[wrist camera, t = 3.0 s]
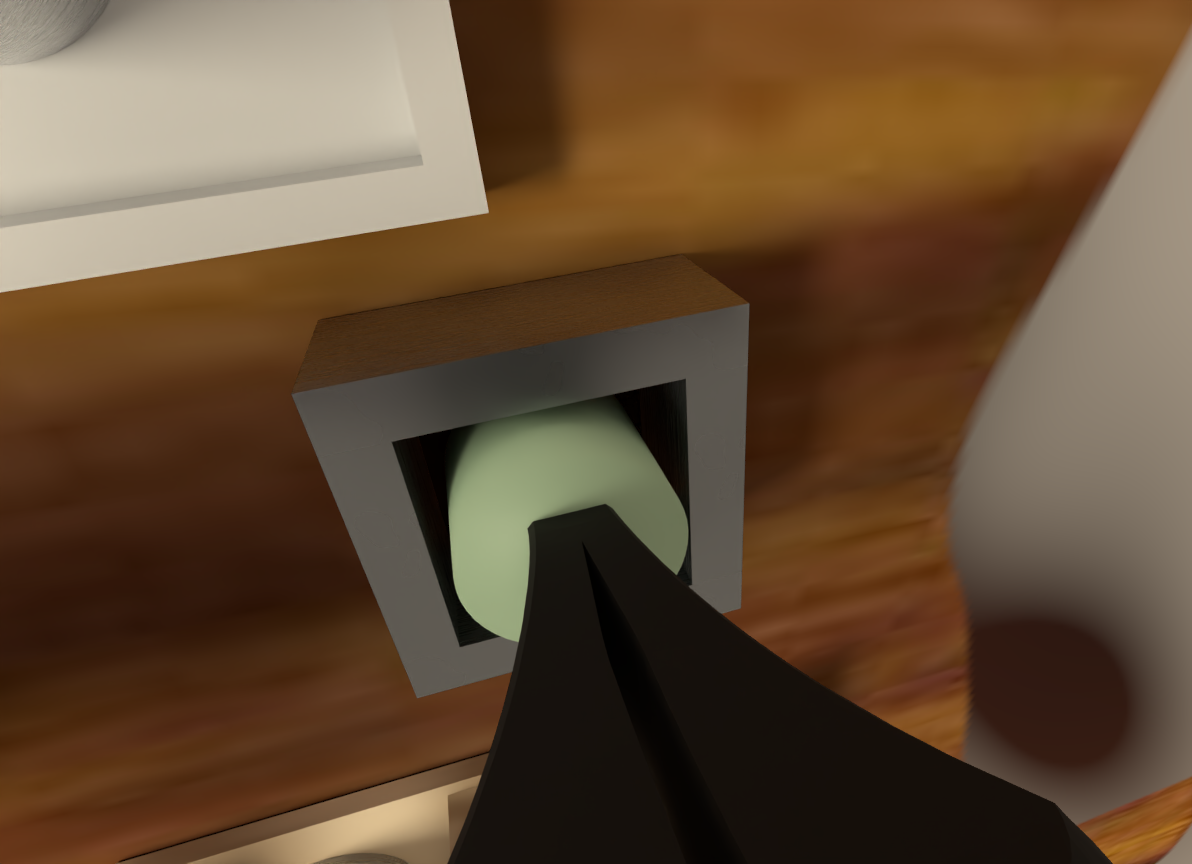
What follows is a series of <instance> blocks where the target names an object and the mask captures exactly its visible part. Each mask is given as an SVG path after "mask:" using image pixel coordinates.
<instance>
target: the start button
mask: <svg viewBox="0 0 1192 864" xmlns="http://www.w3.org/2000/svg"><path fill="white" fill-rule="evenodd" d="M444 459H445V477H446V490H447V503H448V516H449V529H450V542H451V555H452V568H453V580H454V584H455V589H456V592H457V594H458V597H459V599H460V602H461V603H462V605H463V606H464V608H465V609H466V611H467V612H468V613H469V614H470V615H471V616H472V618H473V619H474V620H475V621H477V622H478V623H479V624H480V625H482V626H483V627H484V628H486V629H487V630H489V631H491V632H493V633H494V634H496V635H499V636H501V637H504V638H506V639H509V640H513V641H516V642H519V638H520V633H521V628H522V622H523V615H524V608H525V601H526V593H527V586H528V574H529V556H530V550H529V535H528V530H527V528H528V527H529V526H530V525H531V523H532V522H533V521H537V520H541V519H545V518H549V517H553V516H557V515H561V514H566V513H570V512H574V511H578V510H582V509H586V508H590V507H594V506H598V505H602V504H607V505H608V506H610V507H612V508H613V509H614V511H615V512H616V513H617V514H618V516H619V517H620V518H621V519H622V520H623V521H624V523H625V524H626V525H627V526H628V527H629V528H630V529H631V530H632V531H633V533H634V534H635V535H636V536H637V537H638V538H639V539H640V540H641V541H642V542H643V543H644V544H645V545H646V546H647V547H648V548H649V549H650V550H651V551H652V552H653V553H654V554H655V555H656V556H657V557H658V558H659V559H660V560H661V561H662V562H663V563H664V564H665V565H666V566H667V567H668V568H669V569H670V570H671V571H673V572H674V573H675V574H676V575H677V574H678V572H679V570H680V568H681V566H682V563H683V560H684V557H685V554H686V550H687V545H688V524H687V518H686V515H685V511H684V508H683V506H682V504H681V502H680V500H679V498H678V497H677V495H676V493H675V492H674V490H673V488H672V487H671V485H670V483H669V482H668V480H667V478H666V477H665V475H664V473H663V472H662V470H661V469H660V467H659V465H658V464H657V462H656V460H655V459H654V457H653V455H652V454H651V452H650V450H649V449H648V447H647V445H646V444H645V442H644V440H643V439H642V437H641V435H640V434H639V432H638V430H637V429H636V427H635V425H634V424H633V422H632V421H631V419H630V417H629V416H628V414H627V412H626V411H625V409H624V407H623V406H622V405H621V403H620V402H619V401H618V399H617V398H616V397H615V396H614V395H613V394H612V395H607V396H603V397H598V398H593V399H589V400H584V401H579V402H575V403H570V404H565V405H561V406H556V407H551V408H547V409H542V410H537V411H533V412H528V413H523V414H519V415H514V416H509V417H505V418H500V419H495V420H491V421H486V422H481V423H477V424H472V425H467V426H463V427H458V428H453V429H452V430H451V433H450V435H449V438H448V441H447V445H446V450H445V458H444Z"/></svg>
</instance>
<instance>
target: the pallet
mask: <svg viewBox="0 0 1192 864" xmlns="http://www.w3.org/2000/svg"><path fill="white" fill-rule="evenodd" d="M488 755H489V753H487V754H484V755H480V756H477V757H474V758H470V759H467V760H464V761H460V762H457V763H453V764H450V765H447V766H443V767H440V768H437V769H433V770H430V771H426V772H423V773H420V774H416V775H413V776H410V777H406V778H403V779H400V780H396V781H393V782H389V783H386V784H383V785H379V786H376V787H373V788H369V789H366V790H362V791H359V792H356V793H352V794H349V795H346V796H342V797H339V798H335V799H332V800H329V801H325V802H322V803H319V804H315V805H312V806H308V807H305V808H302V809H298V810H295V811H292V812H288V813H285V814H282V815H278V816H275V817H271V818H268V819H265V820H261V821H258V822H255V823H251V824H248V825H244V826H241V827H238V828H234V829H231V830H228V831H224V832H221V833H217V834H214V835H211V836H207V837H204V838H201V839H197V840H194V841H190V842H187V843H184V844H180V845H177V846H174V847H170V848H167V849H164V850H160V851H157V852H153V853H150V854H147V855H143V856H140V857H137V858H133V859H130V860H126V861H123V862H120V863H116V864H312V863H315V862H318V861H321V860H324V859H328V858H331V857H336V856H341V855H347V854H356V853H378V854H386V855H391V856H395V857H398V858H400V859H403V860H405V861H406V862H408V863H410V864H447V863H448V861H449V858H450V856H451V853H452V851H453V849H454V846H455V844H456V841H457V839H458V837H459V834H460V832H461V829H462V827H463V825H464V822H465V819H466V817H467V814H468V812H469V809H470V806H471V803H472V801H473V798H474V795H475V793H476V790H477V787H478V784H479V781H480V778H481V775H482V772H483V769H484V766H485V764H486V761H487V758H488Z"/></svg>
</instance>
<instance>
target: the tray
mask: <svg viewBox="0 0 1192 864" xmlns="http://www.w3.org/2000/svg"><path fill="white" fill-rule="evenodd" d="M485 213H489V211H488V206H487V200H486V195H485V190H484V184H483V179H482V174H481V169H480V163H479V158H478V153H477V147H476V142H475V137H474V131H473V126H472V121H471V116H470V110H469V105H468V100H467V94H466V89H465V84H464V79H463V73H462V68H461V63H460V57H459V52H458V47H457V42H456V36H455V31H454V26H453V20H452V15H451V10H450V4H449V0H110V1H109V3H108V5H107V7H106V9H105V11H104V13H103V14H102V15H101V16H100V18H99V19H98V20H97V21H96V23H95V24H94V25H93V26H92V27H91V29H90V30H89V31H87V32H86V33H85V34H84V35H83V36H82V37H80V38H79V39H78V40H77V41H76V42H74V43H73V44H71V45H69V46H68V47H66V48H64V49H62V50H60V51H59V52H57V53H55V54H52V55H49V56H46V57H44V58H41V59H38V60H35V61H30V62H25V63H20V64H14V65H0V292H6V291H13V290H19V289H25V288H31V287H37V286H43V285H49V284H56V283H62V282H68V281H74V280H80V279H86V278H92V277H99V276H105V275H111V274H117V273H123V272H129V271H135V270H142V269H148V268H154V267H160V266H166V265H172V264H178V263H184V262H191V261H197V260H203V259H209V258H215V257H221V256H227V255H234V254H240V253H246V252H252V251H258V250H264V249H270V248H277V247H283V246H289V245H295V244H301V243H307V242H313V241H319V240H326V239H332V238H338V237H344V236H350V235H356V234H362V233H369V232H375V231H381V230H387V229H393V228H399V227H405V226H412V225H418V224H424V223H430V222H436V221H442V220H448V219H454V218H461V217H467V216H473V215H479V214H485Z"/></svg>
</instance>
